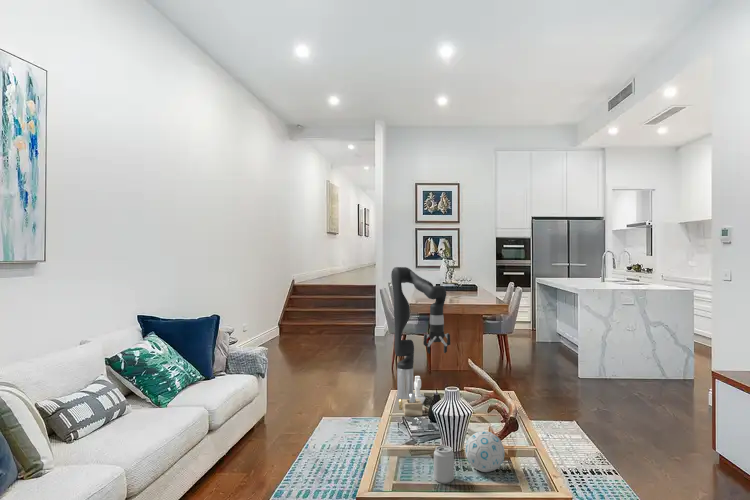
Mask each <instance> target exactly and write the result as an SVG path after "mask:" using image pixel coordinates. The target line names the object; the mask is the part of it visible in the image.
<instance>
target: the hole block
mask: <svg viewBox="0 0 750 500" xmlns="http://www.w3.org/2000/svg"><path fill="white" fill-rule="evenodd" d="M401 411H402V412H403V414H404V416H405V417H409V416H410V417H412V416H415V417H417V416H423V404H422V402H421V401H420V399H415V403H409V399H402V410H401Z"/></svg>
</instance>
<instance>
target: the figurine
mask: <svg viewBox="0 0 750 500" xmlns="http://www.w3.org/2000/svg"><path fill="white" fill-rule="evenodd" d="M421 389H422V379H421V376H420V375H415V376H414V380H413V391H415V392H414V393H415V399H420V401H421V402H422V405H423V403H424V402H425V400H426V396H424V394H423V393H421Z"/></svg>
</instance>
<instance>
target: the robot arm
mask: <svg viewBox="0 0 750 500" xmlns="http://www.w3.org/2000/svg"><path fill="white" fill-rule="evenodd" d="M390 276H391V278H390V279H391V287H392V294H393V316H394V342H393V343H394V355H395V356H396V357H405V358H403V359H402V360H400V361H397V364H396V367H397V368H396V369H397V373H396V374H397V375H396V377H397V384H396V385H397V392H396V393H397V398H398V400H399V399H409V394H410V393H414V361H415V359H414V358H415V357H414V355H415V345H414V344H415V343H414V340H412V339H402V335H403V331H404V329H405V327H406V326H407V324H408V323H409V321H410V317H411V311H410V310H411V309H410V303H409V301H408V298H407V297H406V296H405V294H404V292H403V285H402V284H405V283H409V284H411V285H413V286H414V288H415V289H416V290H417V291H418V292H421V293H423V294H424V295H425V296H426V297H427V298H428V299H430V300H435V301H434V302H433V303H432V304H430V306H429V333H428V334H426V333H424V334H423V343H422V344H423V345H424V347H426V352H427V354H431V346H432V344H433V343H440V342H441V343H442V344H443V353H444V354H446V353H447V352H448V346H451V335H450V333H448V332H447V333H445V320H444V318H445V317H444V305H445V301H446V298H447V290H446V288H445V286H443V285H433V283H432V282H431V281H429V280H427V279H425V278H423V277H421V276H419V275H418V274H417V273H415V272H414V271H413V270H412V269H410V268H409V267H406V266H396V267H393V268H392V270H391V274H390ZM429 338H430V339H429ZM444 338H446V341H445V340H444ZM427 339H429V340H427Z"/></svg>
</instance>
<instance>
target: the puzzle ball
mask: <svg viewBox="0 0 750 500" xmlns="http://www.w3.org/2000/svg"><path fill="white" fill-rule="evenodd" d="M464 452H465V453H464V454H465V456H466V459H467V461H468V463H469V464H470V466H472V468H474V469H476V470H478V471H480V472H482V473H490V472H493V471H495V470H497V469H499V468H500V467H501V466H502V464H503V462H504V459H505V447H504V445H503V443H502V441H501V438H500V437H499V436H497V435H496V434H494V433H492V432H491V431H486V430H483V431H476V432H475V433H473V434H472V435H471V436H470V437H469V438H468V439H467V441H466V443H465V451H464Z"/></svg>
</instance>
